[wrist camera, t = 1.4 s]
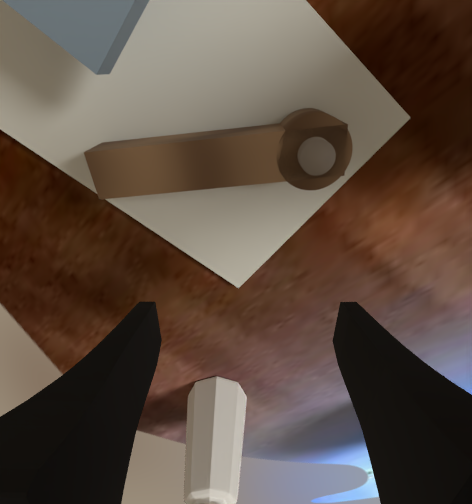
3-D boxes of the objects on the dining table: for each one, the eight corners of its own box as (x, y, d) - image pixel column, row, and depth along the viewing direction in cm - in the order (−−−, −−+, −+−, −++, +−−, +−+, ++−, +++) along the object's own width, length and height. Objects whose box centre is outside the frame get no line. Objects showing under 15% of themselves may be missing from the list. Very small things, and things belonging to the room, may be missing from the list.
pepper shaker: (175, 394, 29) (146, 550, 20) (216, 366, 28) (204, 524, 18) (218, 420, 31) (209, 573, 22) (258, 395, 29) (268, 551, 20)
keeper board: (405, 116, 18) (469, 134, 13) (238, 283, 23) (238, 339, 18) (62, -266, 11) (-69, -516, 7) (-52, 88, 17) (-168, 95, 12)
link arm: (340, 104, 16) (361, 111, 14) (336, 173, 18) (354, 192, 15) (98, 131, 17) (71, 142, 14) (117, 194, 19) (96, 216, 16)
